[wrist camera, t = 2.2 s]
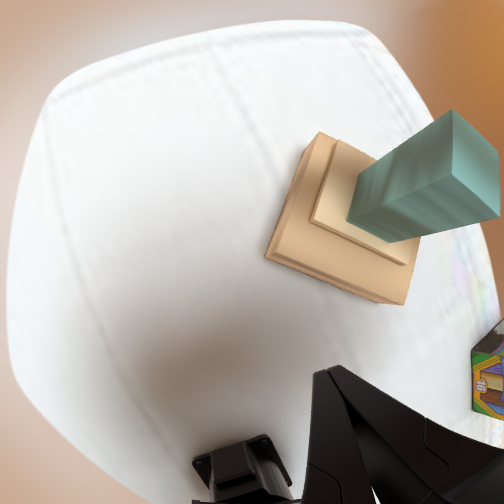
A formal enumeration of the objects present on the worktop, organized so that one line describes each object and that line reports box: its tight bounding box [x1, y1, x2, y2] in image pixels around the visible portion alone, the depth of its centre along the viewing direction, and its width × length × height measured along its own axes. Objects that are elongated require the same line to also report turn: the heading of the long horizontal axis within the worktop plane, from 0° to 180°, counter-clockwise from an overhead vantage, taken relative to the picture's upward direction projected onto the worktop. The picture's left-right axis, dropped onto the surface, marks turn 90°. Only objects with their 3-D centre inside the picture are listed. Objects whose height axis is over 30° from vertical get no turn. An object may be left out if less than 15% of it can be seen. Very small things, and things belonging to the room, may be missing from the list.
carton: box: [265, 131, 421, 305], centre depth 20 cm, size 9×10×4 cm
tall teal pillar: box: [310, 109, 500, 266], centre depth 13 cm, size 6×8×10 cm
